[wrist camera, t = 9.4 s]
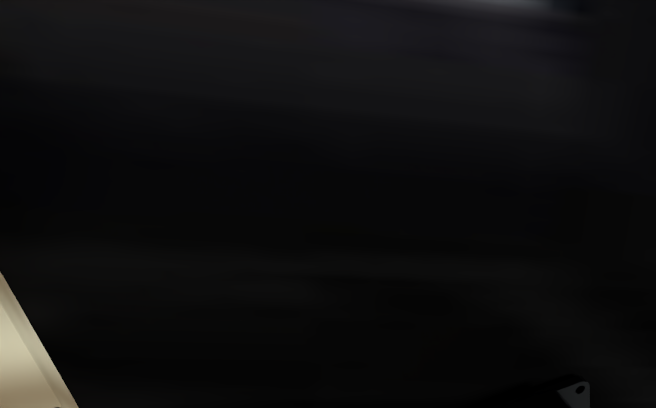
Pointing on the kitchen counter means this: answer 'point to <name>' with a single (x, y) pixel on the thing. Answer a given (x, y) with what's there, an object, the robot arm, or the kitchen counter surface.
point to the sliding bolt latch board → (26, 362)
